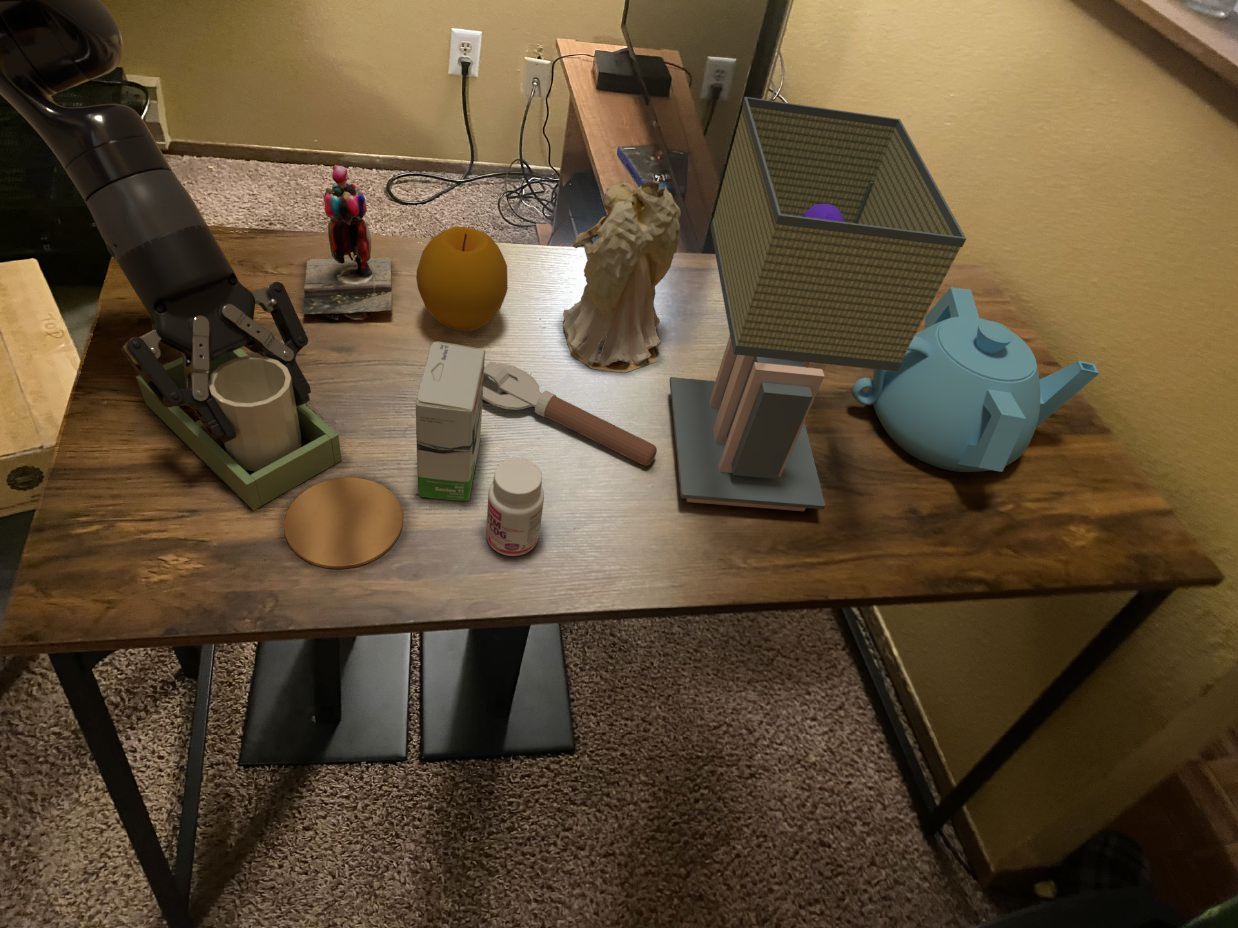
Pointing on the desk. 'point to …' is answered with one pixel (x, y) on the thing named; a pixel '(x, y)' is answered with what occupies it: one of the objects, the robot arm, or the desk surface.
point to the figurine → (623, 278)
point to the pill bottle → (515, 507)
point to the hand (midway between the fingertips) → (267, 420)
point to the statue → (347, 260)
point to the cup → (257, 409)
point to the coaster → (343, 523)
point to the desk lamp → (806, 290)
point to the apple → (462, 278)
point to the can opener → (559, 411)
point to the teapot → (967, 390)
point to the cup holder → (247, 487)
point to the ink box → (449, 420)
